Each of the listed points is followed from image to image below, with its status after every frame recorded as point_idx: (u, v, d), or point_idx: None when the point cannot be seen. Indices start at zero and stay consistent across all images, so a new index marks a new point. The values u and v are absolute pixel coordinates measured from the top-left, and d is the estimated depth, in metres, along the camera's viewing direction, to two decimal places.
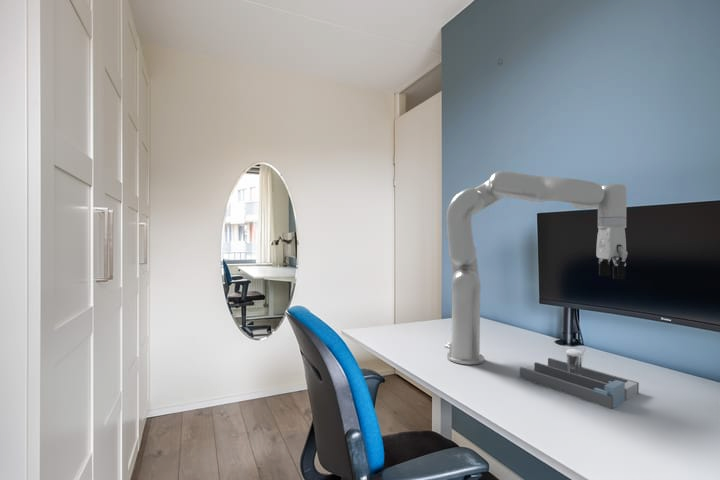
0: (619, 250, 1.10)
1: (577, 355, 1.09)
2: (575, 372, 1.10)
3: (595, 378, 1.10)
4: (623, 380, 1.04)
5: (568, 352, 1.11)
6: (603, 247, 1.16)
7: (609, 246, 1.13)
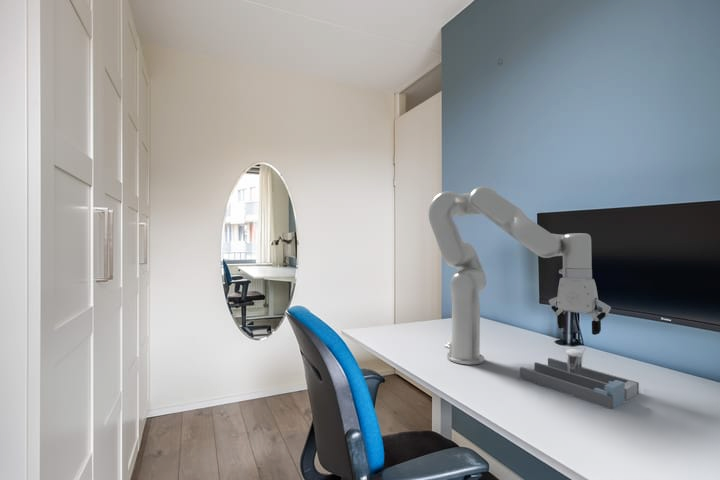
0: (600, 304, 1.05)
1: (577, 355, 1.09)
2: (575, 372, 1.10)
3: (595, 378, 1.10)
4: (623, 380, 1.04)
5: (568, 352, 1.11)
6: (576, 300, 1.08)
7: (590, 301, 1.06)
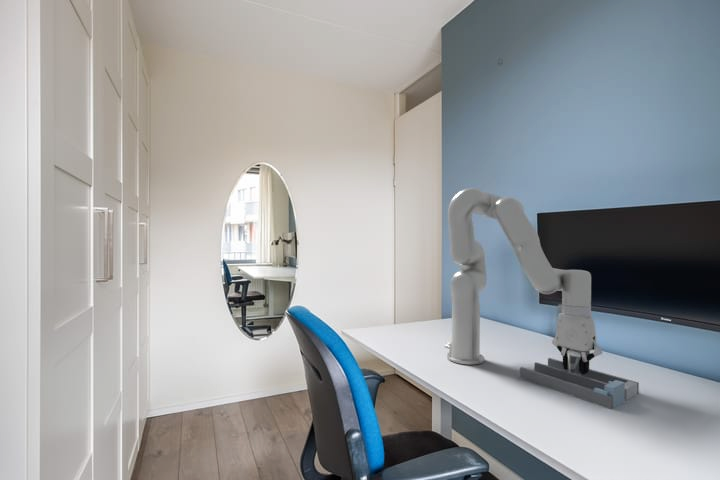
0: (594, 347, 1.06)
1: (578, 355, 1.09)
2: (575, 372, 1.09)
3: (595, 378, 1.10)
4: (623, 380, 1.04)
5: (569, 352, 1.11)
6: (574, 337, 1.09)
7: (588, 339, 1.06)
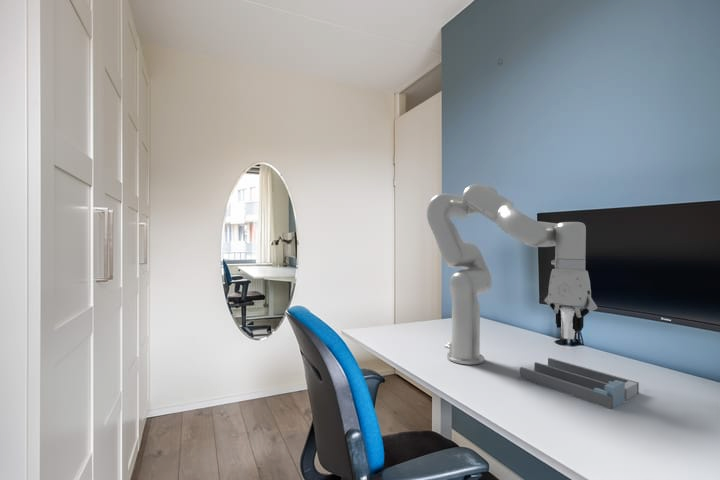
0: (588, 301, 1.00)
1: (571, 311, 1.03)
2: (569, 329, 1.03)
3: (595, 378, 1.10)
4: (623, 380, 1.04)
5: (562, 309, 1.04)
6: (568, 292, 1.03)
7: (582, 293, 1.00)
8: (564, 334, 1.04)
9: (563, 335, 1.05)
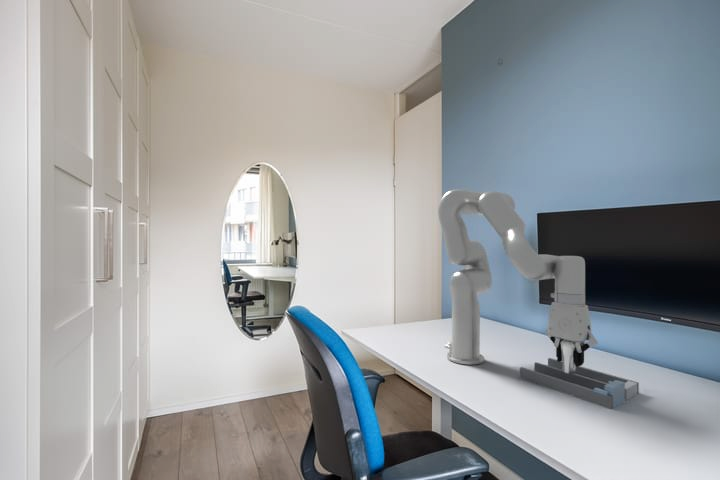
0: (589, 336, 1.00)
1: (572, 346, 1.02)
2: (570, 364, 1.03)
3: (595, 378, 1.10)
4: (623, 380, 1.04)
5: (563, 343, 1.04)
6: (568, 327, 1.03)
7: (582, 329, 1.00)
8: (565, 368, 1.04)
9: (564, 369, 1.04)
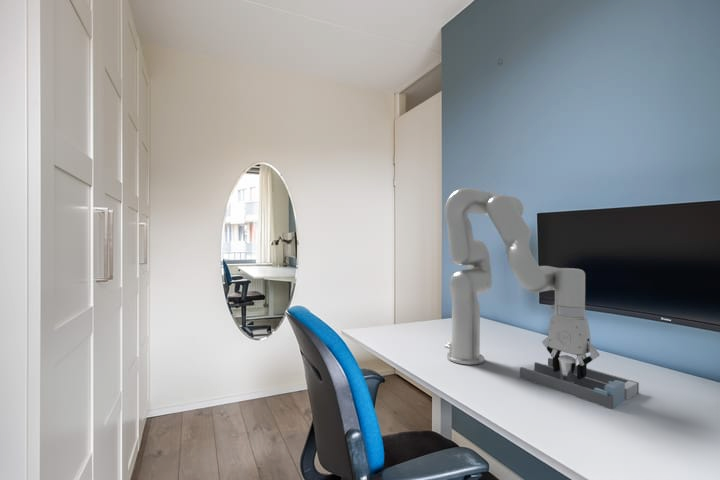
0: (590, 349, 1.00)
1: (570, 362, 1.03)
2: (568, 380, 1.03)
3: (595, 378, 1.10)
4: (623, 380, 1.04)
5: (560, 359, 1.05)
6: (567, 340, 1.03)
7: (582, 342, 1.00)
8: None
9: None
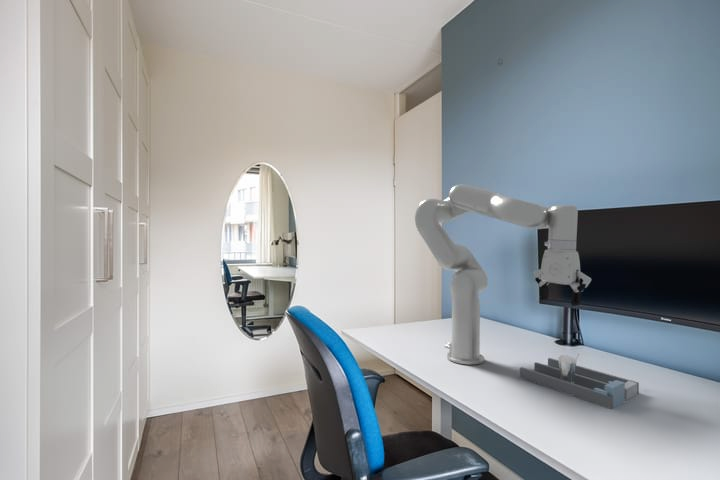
0: (581, 276, 1.06)
1: (570, 362, 1.03)
2: (568, 380, 1.04)
3: (595, 378, 1.10)
4: (623, 380, 1.04)
5: (560, 358, 1.05)
6: (558, 271, 1.09)
7: (571, 272, 1.06)
8: None
9: None
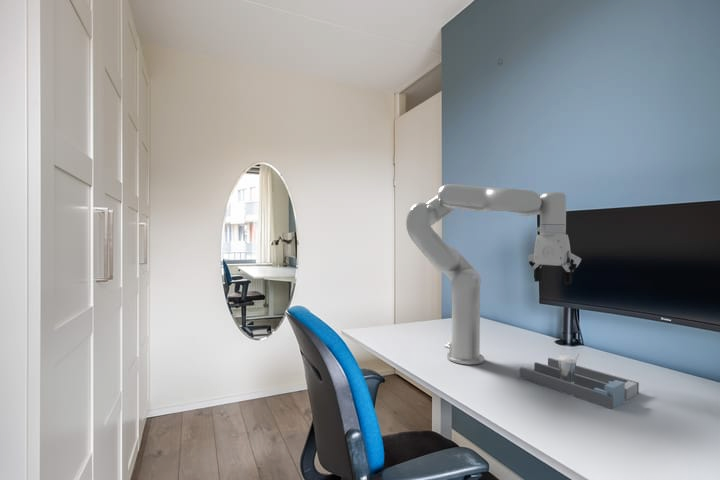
0: (571, 256, 1.14)
1: (569, 362, 1.03)
2: (568, 380, 1.04)
3: (595, 378, 1.10)
4: (623, 380, 1.04)
5: (560, 358, 1.05)
6: (551, 253, 1.18)
7: (563, 253, 1.15)
8: None
9: None
